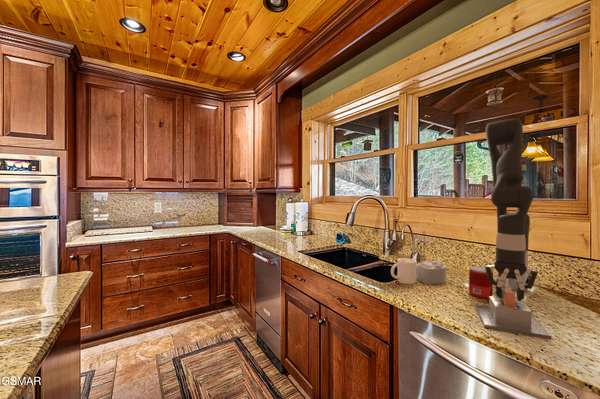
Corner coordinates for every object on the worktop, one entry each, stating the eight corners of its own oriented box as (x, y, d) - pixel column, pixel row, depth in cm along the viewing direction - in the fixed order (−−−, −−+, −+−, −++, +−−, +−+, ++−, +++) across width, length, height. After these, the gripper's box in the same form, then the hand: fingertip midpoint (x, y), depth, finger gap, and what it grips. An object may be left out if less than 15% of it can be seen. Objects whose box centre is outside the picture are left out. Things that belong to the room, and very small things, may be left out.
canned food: (496, 299, 104) (496, 272, 104) (473, 298, 105) (474, 271, 105) (486, 292, 111) (487, 266, 111) (465, 291, 113) (466, 265, 113)
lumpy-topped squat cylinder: (413, 277, 131) (413, 260, 130) (435, 275, 134) (436, 258, 133) (428, 285, 120) (429, 266, 120) (452, 282, 124) (452, 264, 123)
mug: (394, 285, 120) (394, 263, 120) (386, 279, 128) (387, 258, 128) (419, 284, 121) (420, 262, 121) (410, 278, 129) (410, 257, 129)
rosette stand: (474, 304, 100) (474, 259, 99) (527, 312, 93) (528, 264, 92) (484, 327, 83) (485, 274, 82) (551, 339, 76) (552, 281, 76)
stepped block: (502, 315, 89) (502, 289, 88) (513, 317, 88) (513, 290, 87) (504, 319, 86) (505, 292, 86) (516, 321, 85) (516, 293, 84)
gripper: (533, 246, 86) (532, 298, 87) (481, 243, 92) (480, 291, 93) (543, 251, 80) (542, 307, 80) (486, 247, 86) (485, 299, 86)
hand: (509, 298), depth 87 cm, fingers open, 4 cm apart
